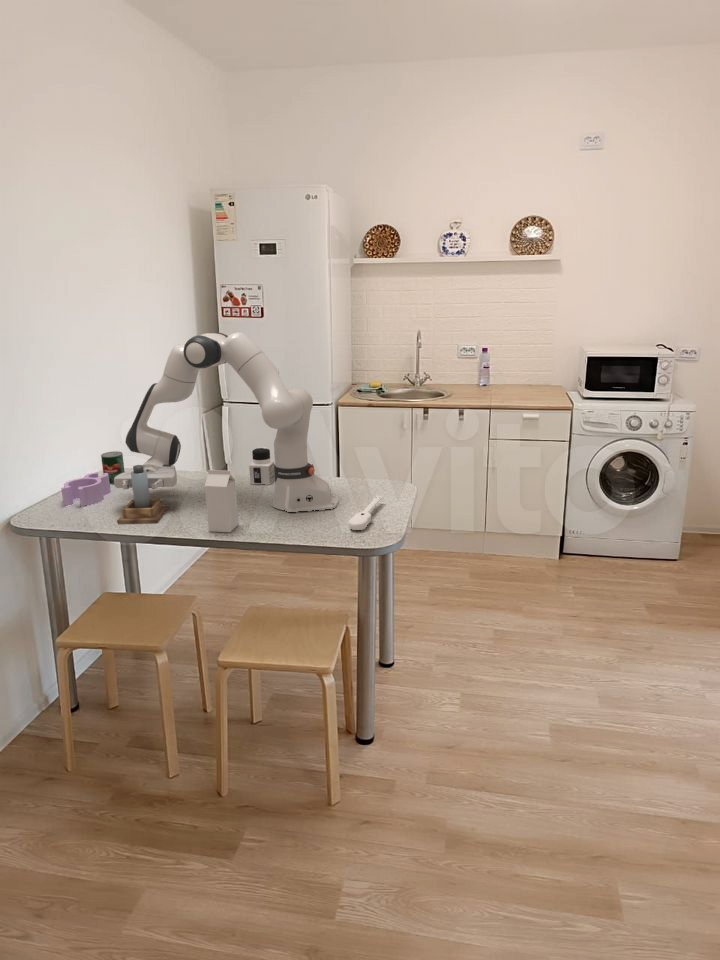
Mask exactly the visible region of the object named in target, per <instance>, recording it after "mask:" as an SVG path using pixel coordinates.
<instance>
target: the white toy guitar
mask: <svg viewBox="0 0 720 960" xmlns="http://www.w3.org/2000/svg"><path fill="white" fill-rule="evenodd" d="M383 499H384V497H383V496H381V495H376V496H374V497H373V498H372V501H370V503H369V504H368V505H367V506H365V508H364V509H363V510H362V511H358V512H357V513H355V514H354V515H353V516H352V517H351V518H350V519H349V520H348V528H349V530H351V529H352V530H351V531H355V530H361V531H363V530H366V529H367V528H368V526H369V525H370V524H371V523H372V522H371V521H372V514H371V513H370V512H371V511H372V510H373V509H374V507H375V506H376V505H377V504H378V503H379V502H380V501H382V500H383ZM370 522H371V523H370ZM369 523H370V524H369ZM367 525H368V526H367ZM366 527H367V528H366Z"/></svg>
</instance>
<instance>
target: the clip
mask: <svg viewBox="0 0 720 960" xmlns="http://www.w3.org/2000/svg"><path fill="white" fill-rule="evenodd" d="M102 473H103V472H102ZM60 489H61V496H62V502H63V507H64V506H68V505H72V504H74V500H73V499H75V500H76V498H77V499H79V503H80V507H85V508H86V506H85V505H89V506H92V505H91V504H93V505H96V504H95V503H97V504H98V502H99V503H101V502H103V501H104V499H105V498H104V496H106V495H109V494H110V493H112V492H111V491H112V490H111V484H110V482H109V475H108V473H103V474H102V476H99V472H91V473H88V474H86V475H84V476H83V477H80V478H75V479H71V480H69V481H66V482H65V483H64V484H63V487H61V488H60ZM102 500H103V501H102ZM72 506H73V505H72Z"/></svg>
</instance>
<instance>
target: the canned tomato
mask: <svg viewBox="0 0 720 960" xmlns="http://www.w3.org/2000/svg"><path fill="white" fill-rule="evenodd" d="M123 454H124V453H123V452H122V451H115V450H114V451H108V452H103V453H101V454H100V457H101V458H100V459H101V465H102V473H108V475H109V482H110V485H115V484H114V478H115V477H116V476H117V475H119V474H121V473H125V472H126V471H125V463H124V455H123Z"/></svg>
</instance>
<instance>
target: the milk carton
mask: <svg viewBox="0 0 720 960" xmlns="http://www.w3.org/2000/svg"><path fill="white" fill-rule="evenodd" d="M204 490H205V491H204V492H205V501H206V502H205V504H206V513H207V514H206V515H207V525H208V532H214V533H215V532H216V533H231V532H232V531H233V530H235V528H237V526H239V516H238V515H239V514H238V502H237V490H236V479H235V478H234V477H233V476H232V473H231V470H225V469H224V470H222V469H221V470H218V469H217V470H216V469H208V470H207V477H206V480H205V484H204Z"/></svg>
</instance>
